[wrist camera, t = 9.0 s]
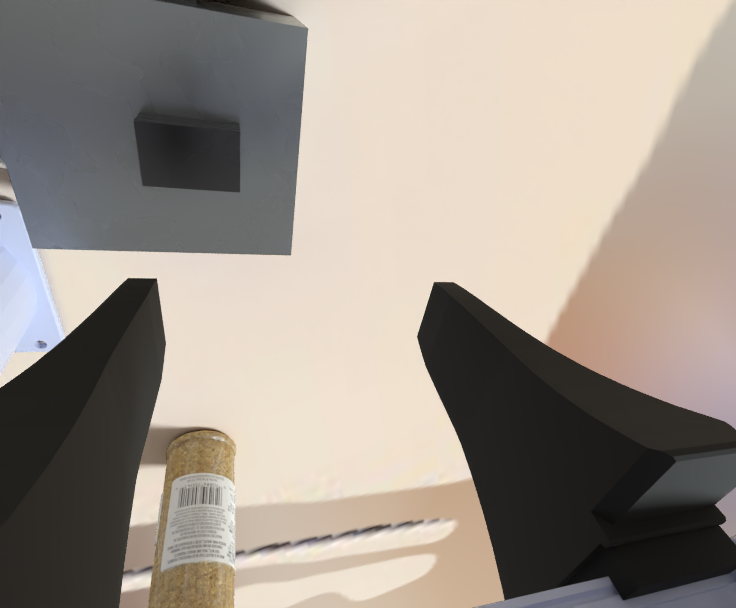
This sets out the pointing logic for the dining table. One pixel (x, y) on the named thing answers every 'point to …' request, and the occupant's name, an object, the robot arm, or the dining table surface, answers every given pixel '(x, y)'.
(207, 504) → the sprinkles bottle
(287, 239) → the drawer
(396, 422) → the dining table surface
